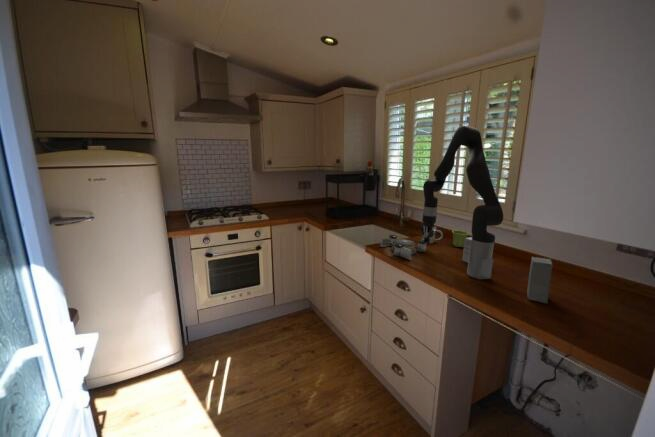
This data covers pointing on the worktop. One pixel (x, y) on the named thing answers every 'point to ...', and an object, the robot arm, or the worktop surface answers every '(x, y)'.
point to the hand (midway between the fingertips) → (426, 243)
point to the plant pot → (459, 238)
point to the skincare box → (539, 279)
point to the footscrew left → (402, 251)
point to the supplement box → (466, 249)
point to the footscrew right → (422, 245)
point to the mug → (434, 235)
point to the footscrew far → (388, 241)
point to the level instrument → (406, 245)
